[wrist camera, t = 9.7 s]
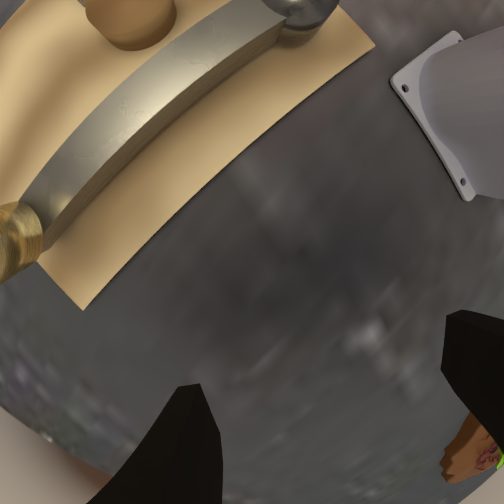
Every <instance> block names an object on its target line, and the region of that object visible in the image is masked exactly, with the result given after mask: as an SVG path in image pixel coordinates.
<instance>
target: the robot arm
mask: <svg viewBox="0 0 504 504" xmlns="http://www.w3.org/2000/svg"><path fill="white" fill-rule="evenodd" d="M390 83H391V85H392V87H393V88H394V90H395V91H396V92H397V94H398V95H399V96H400V98H401V99H402V101H403V102H404V103H405V105H406V106H407V108H408V109H409V110H410V112H411V113H412V115H413V116H414V118H415V119H416V121H417V122H418V124H419V125H420V127H421V128H422V130H423V131H424V133H425V134H426V136H427V137H428V139H429V141H430V142H431V144H432V145H433V147H434V149H435V150H436V152H437V154H438V155H439V157H440V159H441V160H442V162H443V164H444V166H445V167H446V169H447V171H448V173H449V174H450V176H451V178H452V180H453V182H454V184H455V186H456V187H457V189H458V191H459V193H460V195H461V197H462V199H463V200H465V201H471V200H472V199H473V198H474V197H475V196H476V194H478V195H483V196H488V197H492V198H497V199H502V200H504V26H501V27H498V28H495V29H492V30H490V31H487V32H484V33H482V34H479V35H476V36H474V37H471V38H469V39H466V40H463V39H462V37H461V36H460V34H459V33H458V32H456V31H451V32H449V33H448V34H446V35H445V36H444V37H442V38H441V39H440V40H438V41H437V42H436V43H434V44H433V45H432V46H430V47H429V48H428V49H426V50H425V51H424V52H422V53H421V54H420V55H418V56H417V57H416V58H414V59H413V60H412V61H411V62H409V63H408V64H407V65H405V66H404V67H403V68H402V69H400V70H399V71H398V72H396V73H395V74H394V75H393V76H392V77H391V78H390ZM402 86H404V87H405V89H406V92H404V91H402ZM461 179H462V184H461V183H460V181H461ZM441 371H442V373H443V374H444V376H445V378H446V379H447V381H448V383H449V384H450V386H451V387H452V389H453V390H454V392H455V393H456V395H457V396H458V397H459V398H460V400H461V401H462V402H463V403H464V404H465V406H466V407H467V408H468V409H469V410H470V411H471V413H472V414H473V415H474V416H475V417H476V419H477V420H478V421H479V422H480V423H481V425H482V426H483V427H484V428H485V429H486V431H487V432H488V433H489V434H490V436H491V437H492V438H493V439H494V441H495V442H496V444H497V445H498V446H499V448H500V449H501V451H502V453H503V455H504V320H502V319H499V318H495V317H492V316H488V315H484V314H480V313H476V312H472V311H467V310H459V311H457V312H454V313H452V314H449V315H447V316H446V328H445V338H444V347H443V355H442V363H441ZM222 485H223V458H222V447H221V437H220V432H219V430H218V427H217V425H216V423H215V420H214V418H213V415H212V413H211V411H210V408H209V406H208V403H207V401H206V398H205V396H204V393H203V391H202V388H201V386H200V383H199V384H193V385H187V386H180V387H177V389H176V390H175V392H174V393H173V395H172V396H171V398H170V399H169V401H168V402H167V404H166V406H165V407H164V409H163V410H162V412H161V413H160V415H159V416H158V418H157V419H156V421H155V422H154V424H153V425H152V427H151V428H150V430H149V431H148V433H147V434H146V436H145V437H144V438H143V440H142V441H141V443H140V444H139V445H138V447H137V448H136V449H135V451H134V452H133V453H132V455H131V456H130V457H129V458H128V460H127V461H126V462H125V463H124V465H123V466H122V467H121V469H120V470H119V471H118V472H117V473H116V474H115V476H114V477H113V478H112V479H111V480H110V481H109V482H108V483H107V484H106V485H105V486H104V487H103V488H102V489H101V490H100V491H99V492H98V493H97V495H95V496H94V497H93V498H92V499H91V500H90V501H89V502H88V503H86V504H222Z"/></svg>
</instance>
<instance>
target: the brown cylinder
mask: <svg viewBox="0 0 504 504" xmlns="http://www.w3.org/2000/svg"><path fill="white" fill-rule="evenodd" d="M85 12H86V16H87V19H88V21H89V22H90V23H91V24H92V25H93V26H94V27H95V28H96V29H97V30H98V31H99V32H100V33H101V34H102V35H103V36H104V37H105V38H106V39H107V40H108V41H109V42H110V43H111V44H112V45H113V46H114V47H116V48H118V49H121V50H124V51H139V50H143V49H146V48H149V47H151V46H153V45H155V44H157V43H158V42H160V41H161V40H162V39H164V38H165V37H166V36H167V35H168V33H169V32H170V31H171V29H172V28H173V26H174V24H175V21H176V17H177V11H176V6H175V3H174V0H87V1H86V6H85Z"/></svg>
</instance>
